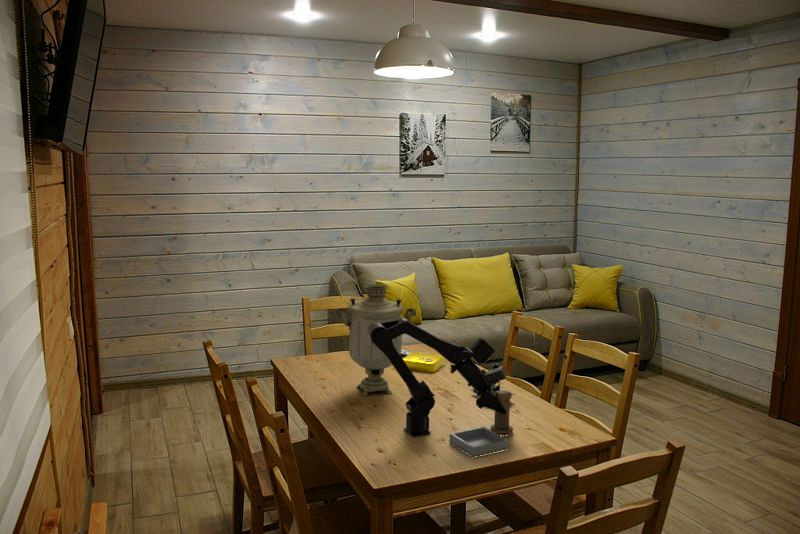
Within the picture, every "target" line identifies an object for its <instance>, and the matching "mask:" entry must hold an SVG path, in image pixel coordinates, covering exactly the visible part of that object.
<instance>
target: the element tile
mask: <svg viewBox="0 0 800 534" xmlns="http://www.w3.org/2000/svg"><path fill="white" fill-rule="evenodd" d="M402 359H403V360H404V362H405V363H406V365H407V366H408V368H409V369H410V371H414V370H417V371H416V372H422V371H423V373H430V372H432V373H436V372H437V371H438V370H439V368H440V369H441V368H442V367H443V366H444V365H445V358H444V357H443V356H442V355H441V354H440V353H432V352H431V353H430V352H419V351H412V352H411V353H409V354H407V355H406V356H405V357H402Z"/></svg>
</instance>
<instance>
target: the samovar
mask: <svg viewBox="0 0 800 534" xmlns="http://www.w3.org/2000/svg"><path fill="white" fill-rule="evenodd" d="M388 287H389V286H388V285H387V284H380V283H371V284H365V285H364V286H363V288H365V289H366V295H367V297H366V298H364V299H362V300H357V301H356V298H351V299H350V300H349V301H350V302H351V303H349V304H348V308H349V311H350V316H349V319H347V315H346V313H345V310H344V309H343V308H339V307H338V308H336V310H335V314H336V315H337V316H338V317H339V316H341V317H340V319H341V320H342V323H343V324H344V325H345V326H346V327H348V331H349V335H348V336H349V339H348V340H349V341H348V343H349V346H348V352H349V356H350V358H351V360H352V361H353V362H354V363H356V364H357V365H358V366H360V367H361V368H364V369H365V370H364V371H365V375H368V376H366V377H365V378H364V379H362V380H361V381H360V383H359V384H357V386H356V389H358V388H360V389H362V390H363V392H362V393H361V396H362V397H368V394H369V393H371V392H377V391H379V392H380V391H385V392H387V393H388V395H393V391H392V390H390V388H389V387H390V386H389V382H388V381H387V380H385V378H384V377H382V375H384V374H385V369H387V368H389V367H391V366H393V365H392V364H391V362H390V361H389V359H388V358H387V356H386V355H385V354H384V353H383V352H382V351H381V350H380V349H379V348H378V347H377V346H376V345H375V344H374V343H373V342H372V341H371V340H370V338H369V337H368V335H367V329H368V327H369V326H370V325H371V324H373V323H384V322H388V321H395V320H399V319H402V316H401V315H402V312H403V309H404V306H403V305H402V304H401V302H402V299H400V298H396V300H395V301H392V300H389V299H388V298H385V295H386V292H387V291H386V290H387V289H388ZM416 316H417V310H416V309H414V308H407V309H406V311H405V312H404V315H403V318H405V319H407V320H408V321H409V322H411V321H412V320H411V318H412V317H416ZM411 323H412V322H411ZM402 336H403V334H402V335H400V336H398V337H396V338H394V339H392V341H393V344H394V347H395V349H396V350H397V352H398V353H399V355H400V356H401V354H402V340H403V339H402Z"/></svg>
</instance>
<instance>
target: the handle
mask: <svg viewBox="0 0 800 534" xmlns="http://www.w3.org/2000/svg"><path fill="white" fill-rule="evenodd" d="M508 391H509V390H508ZM508 391H503V390H500V391H496V392H495V393H497V392H498V400H499V401H500V403H501V404H502V405H503V407H504V408H505V410H506V411H507V414H505V415H504V414H501V413H499V412H497V411H494V420H493V422H494V423H493V424H492V425H490V429H489V430H491V431H493V432H494V433H496V434H498V435H502V436H503V435H504V436H505V435H510V434H512V433H514V431H513V430H514V429H513V427H512V425H510V412H511V411H510V408H511V406H510V405H511V399H510V391H509V392H508ZM512 435H513V434H512ZM510 436H511V435H510Z"/></svg>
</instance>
